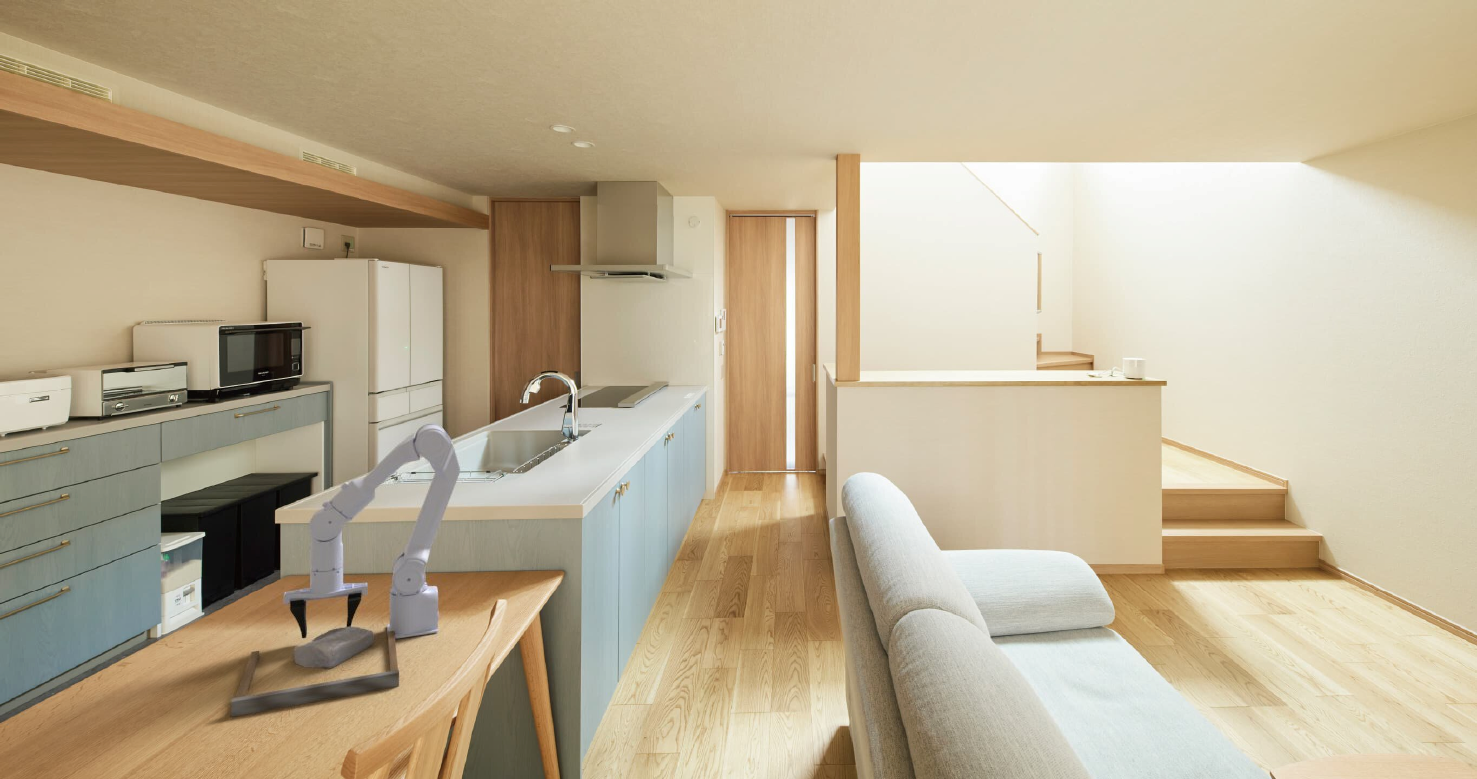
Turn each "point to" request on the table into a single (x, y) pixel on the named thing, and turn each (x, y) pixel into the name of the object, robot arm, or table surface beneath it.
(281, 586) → the table surface
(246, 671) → the u-shaped frame
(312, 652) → the stone block
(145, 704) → the table surface
